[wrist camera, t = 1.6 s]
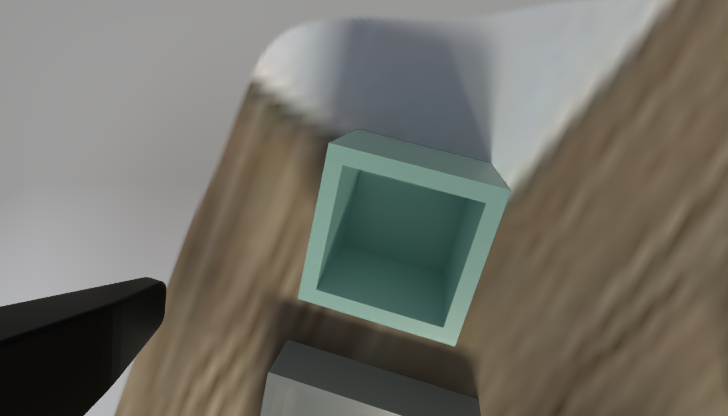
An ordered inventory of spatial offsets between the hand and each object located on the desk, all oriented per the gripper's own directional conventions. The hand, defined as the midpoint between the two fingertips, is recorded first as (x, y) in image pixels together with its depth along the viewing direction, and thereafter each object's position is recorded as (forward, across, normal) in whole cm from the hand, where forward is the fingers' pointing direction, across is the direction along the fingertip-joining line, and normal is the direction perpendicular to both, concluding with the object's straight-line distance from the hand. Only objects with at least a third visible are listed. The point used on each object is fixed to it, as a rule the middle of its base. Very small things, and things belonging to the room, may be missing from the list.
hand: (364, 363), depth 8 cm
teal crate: (+11, 0, 0) cm, 11 cm away
